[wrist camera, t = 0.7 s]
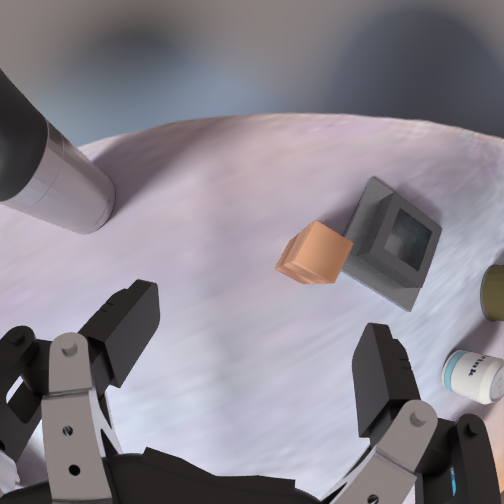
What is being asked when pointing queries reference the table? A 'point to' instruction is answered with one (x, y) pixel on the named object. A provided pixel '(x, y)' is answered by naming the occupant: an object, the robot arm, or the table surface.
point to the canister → (493, 293)
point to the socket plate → (390, 245)
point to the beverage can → (474, 376)
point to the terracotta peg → (315, 255)
